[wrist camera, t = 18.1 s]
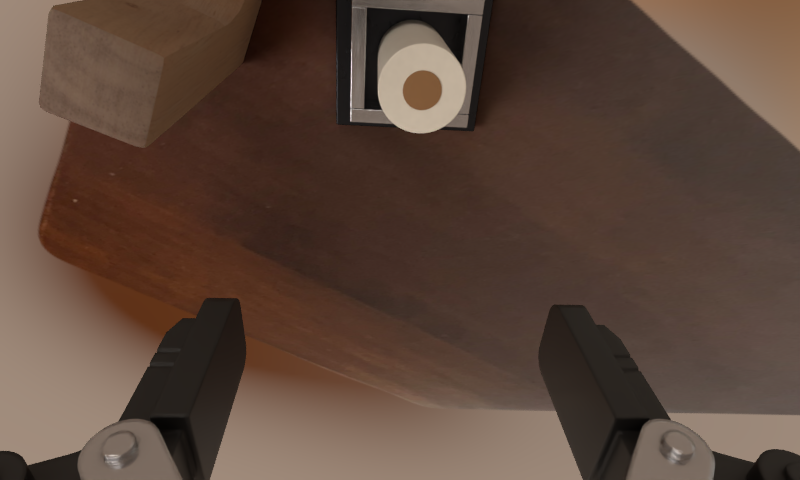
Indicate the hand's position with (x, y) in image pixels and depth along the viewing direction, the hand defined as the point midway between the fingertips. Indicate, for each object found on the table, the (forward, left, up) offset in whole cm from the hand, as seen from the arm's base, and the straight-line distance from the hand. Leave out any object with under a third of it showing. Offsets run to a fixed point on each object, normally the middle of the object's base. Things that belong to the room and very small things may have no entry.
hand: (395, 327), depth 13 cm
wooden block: (-5, -11, -29) cm, 32 cm away
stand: (-2, +2, -29) cm, 29 cm away
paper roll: (-2, +2, -28) cm, 28 cm away
